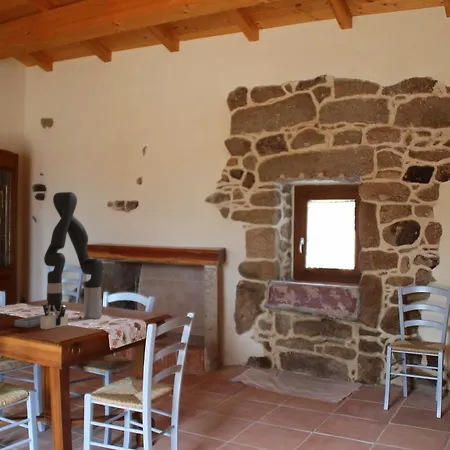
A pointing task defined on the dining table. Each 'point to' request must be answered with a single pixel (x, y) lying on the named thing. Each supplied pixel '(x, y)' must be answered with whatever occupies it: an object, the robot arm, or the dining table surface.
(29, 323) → the grey flat block
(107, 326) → the dining table surface
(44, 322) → the beige rectangular block
